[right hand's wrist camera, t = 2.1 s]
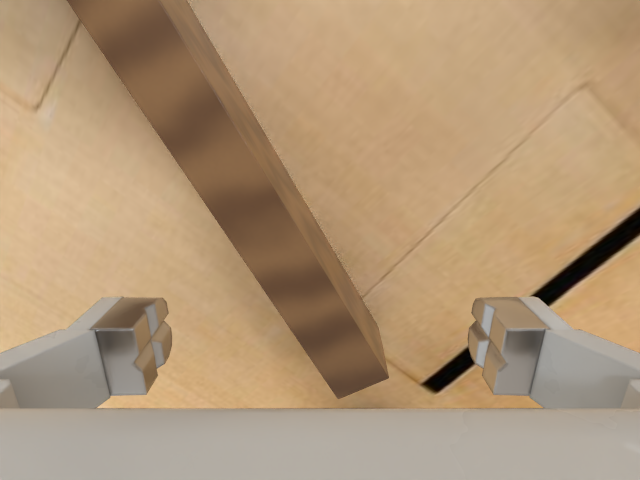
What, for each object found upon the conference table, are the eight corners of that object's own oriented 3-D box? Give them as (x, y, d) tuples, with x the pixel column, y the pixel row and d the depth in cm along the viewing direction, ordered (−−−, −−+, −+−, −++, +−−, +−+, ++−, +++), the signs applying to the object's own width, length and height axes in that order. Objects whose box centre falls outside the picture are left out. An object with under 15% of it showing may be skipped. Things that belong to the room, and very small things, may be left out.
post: (378, 327, 41) (389, 378, 34) (336, 346, 42) (338, 399, 35) (-77, -450, 23) (-276, -716, 15) (-133, -384, 24) (-344, -603, 16)
